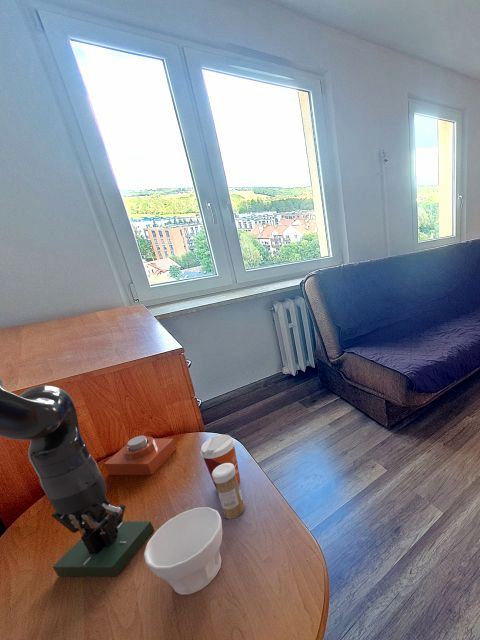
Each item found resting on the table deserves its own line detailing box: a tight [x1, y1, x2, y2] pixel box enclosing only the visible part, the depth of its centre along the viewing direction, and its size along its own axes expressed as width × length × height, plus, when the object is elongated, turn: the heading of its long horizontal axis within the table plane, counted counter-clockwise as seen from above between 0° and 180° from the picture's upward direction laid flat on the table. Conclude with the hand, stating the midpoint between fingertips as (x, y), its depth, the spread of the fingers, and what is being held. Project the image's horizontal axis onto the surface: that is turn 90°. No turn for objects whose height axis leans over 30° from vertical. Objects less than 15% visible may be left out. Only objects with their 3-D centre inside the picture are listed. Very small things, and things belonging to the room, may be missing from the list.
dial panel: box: [52, 520, 155, 578], centre depth 72 cm, size 12×10×3 cm
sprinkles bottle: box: [211, 463, 246, 520], centre depth 79 cm, size 5×5×13 cm
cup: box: [143, 507, 223, 596], centre depth 67 cm, size 12×12×11 cm
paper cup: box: [199, 433, 241, 491], centre depth 87 cm, size 8×8×14 cm
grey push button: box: [126, 435, 148, 451], centre depth 94 cm, size 4×4×2 cm
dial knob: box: [80, 522, 118, 554], centre depth 70 cm, size 5×2×5 cm, turn 179°
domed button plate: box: [103, 436, 178, 476], centre depth 95 cm, size 12×10×6 cm
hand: (104, 541), depth 71 cm, fingers closed
